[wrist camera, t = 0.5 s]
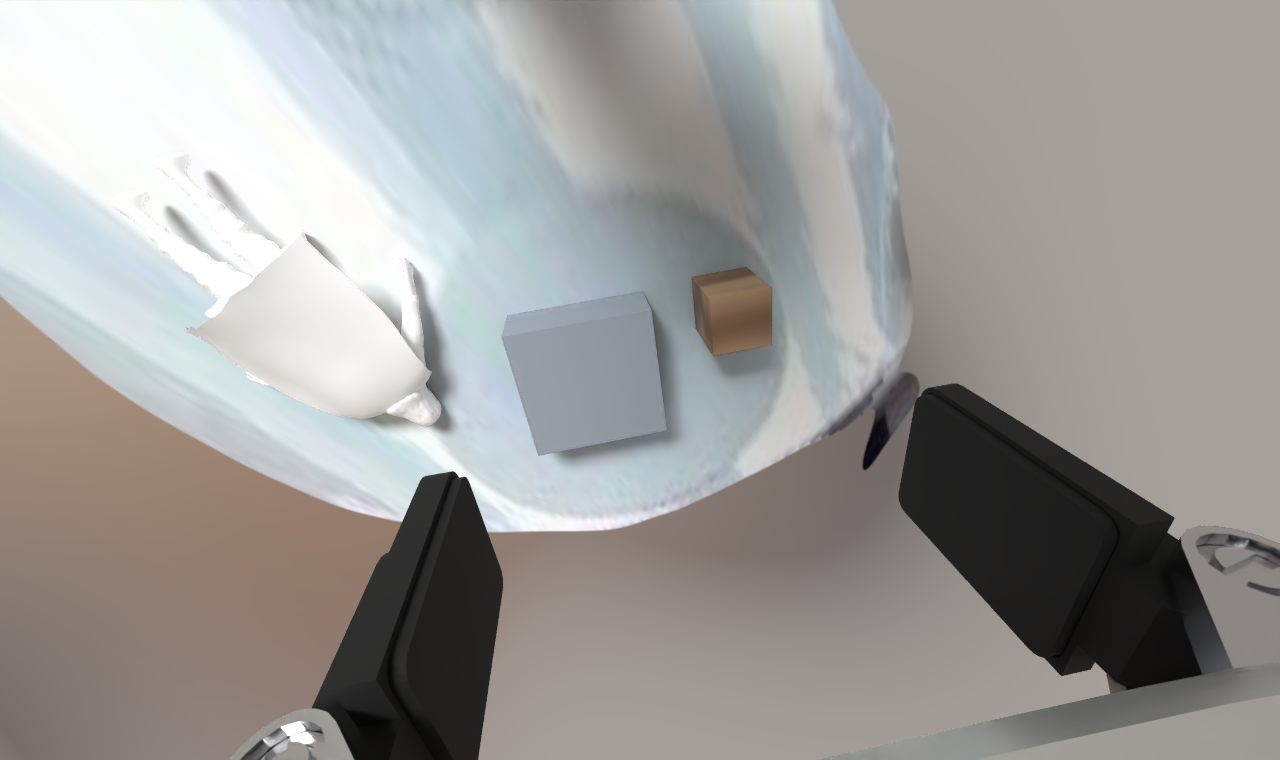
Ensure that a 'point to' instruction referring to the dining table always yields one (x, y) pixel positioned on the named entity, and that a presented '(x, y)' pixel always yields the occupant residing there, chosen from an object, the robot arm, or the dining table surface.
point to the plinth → (587, 372)
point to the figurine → (298, 316)
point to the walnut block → (732, 310)
